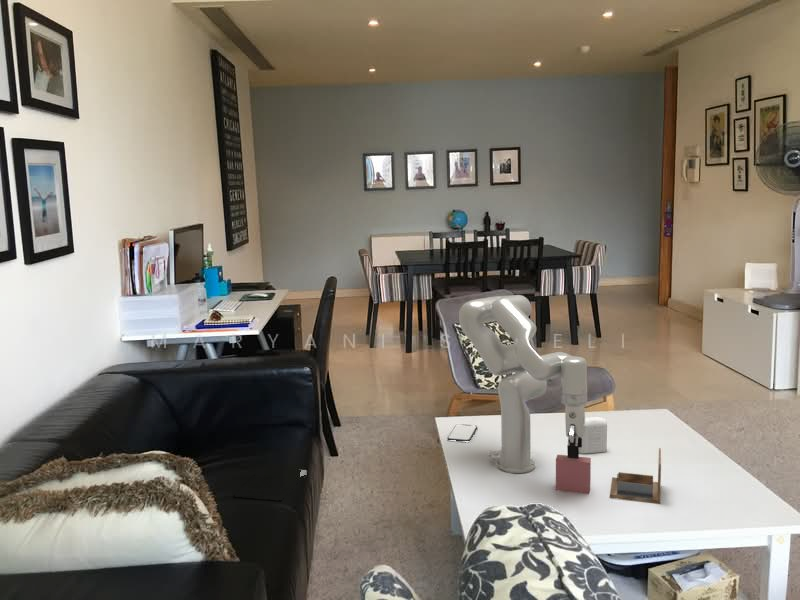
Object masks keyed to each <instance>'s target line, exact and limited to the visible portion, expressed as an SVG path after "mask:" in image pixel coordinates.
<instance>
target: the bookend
mask: <svg viewBox="0 0 800 600" xmlns="http://www.w3.org/2000/svg"><path fill="white" fill-rule="evenodd" d="M617 495H620V496H628V497H637V498H646V499H653V485H648V484H639V483H629V482H620V481H617Z"/></svg>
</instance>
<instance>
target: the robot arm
mask: <svg viewBox="0 0 800 600" xmlns="http://www.w3.org/2000/svg"><path fill="white" fill-rule="evenodd" d="M532 310H533V309H532V305H531V301H529V299H528V298H527V297H525V296H524V295H522V294H515V295H513V294H512V295H495V296H489V297H483V298H477V299H471V300H469V301H467V302H465V303H464V304H463V305H462V306H460V309H459V313H458V314H459V315H458V322H459V325H460V328H461V331H462V332H463V334H464V335H465V336H466V338H467V339H468V340H469V342H471V344H472V345H473V347H474V348H475V350H476V351H477V353H478V355H479V356H480V358H481V360H482V361H483V363H484V365H485V366H486V368H487V369H488V370H489V372H490V374H492V375H493V376H496V377H497V376H498V377H500V376H504V377H503V378H501V379H500V381H499V383H498V384H497V393H498V398H499V404H500V413H501V414H500V417H501V418H500V419H501V422H500V424H501V427H500V428H501V430H500V431H501V450H499V451H496V450H495V451H494V450H489V451H488V457H489V458H490V459H491V460H497V462H496V465H497V468H498V469H500V470H502V471H503V472H506V473H511V474H523V473H529V472H531V471H534V469H535V468H536V462H535V460H534V459H532V458H531V414H530V410H529V408H528V407H527V405H526V402H528V401H530V400H533V399H536V398H537V399H538V398H539V397H542V396H543V395H545V393H546V391H547V388H548V382H547V381H549V380H552V379H555V378H560V384H561V385H560V387H561V397H560V398H561V399H560V400H561V403H562V404H563V405H565V407H564V408H565V409H564V410H565V413H564V415H565V418H564V419H565V436H566V437H567V447H566V448H567V453H566V454H567V456H568V458H573V459H578V458H579V457H580V453H579V447H580V448H581V447H582V437H583V436H584V432H585V418H586V412H585V411H586V410H585V405H587V404H588V367H587V366H588V363H587V360H586V359H585V358H584V357H582V356H575V355H572V354H571V355H570V354H568V353H566V352H564V351H563V352H562V351H556V352H552V353H547V354H543V355H539V354H538V352H537V351H536V350H535V349H534V348H533V347H532V345H531V344H530V341H531V340H532V339H533V338H534V336H535V334H536V333H537V326H536V324H535V323H534V321H532V320H531V319H530V318H529V316H530V315H531V313H532ZM490 322H491V323H492V322H497V324H498V326H500V327H501V328H502V330H503V331H505V333H506V334H507V335H508V336H509V338H511V339H512V340H513V342H514V343H513V344H506V345H505V344H503V342H502V341H501V339H500V338H499V337H498V335H497V334H496V333H495V331H493V330H492V329H491V328H489V327H488V326H487V325H485V324H486V323H490ZM506 375H507V376H506Z"/></svg>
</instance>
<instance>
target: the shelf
mask: <svg viewBox="0 0 800 600" xmlns="http://www.w3.org/2000/svg"><path fill="white" fill-rule="evenodd" d="M661 452H662V450H661V448H660V447H659V448H658V470H657V471H658V472H657V474H658V475H657V481H654V475H651V474H650V475H649V474H639V473H631V472H620V471H618V473H617V474H616V477H614V476H613V477H611V484H610V489H609V490H610V491H609V498H611V499H616V498H618V499H617V500H625V499H626V500H627V501H633V500H634V502H635V501H636V502H642V503H651V504H659V503H660V504H661V481H662V480H661V479H662V477H661V475H662V454H661ZM617 481H620V482H629V483H639V484H648V485H653V499H646V498H637V497H628V496H620V495H617Z"/></svg>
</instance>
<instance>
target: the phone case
mask: <svg viewBox="0 0 800 600" xmlns="http://www.w3.org/2000/svg"><path fill="white" fill-rule="evenodd" d="M476 430H477V431H478V425H474V424H461V423H459V424H458V423H457V424H455V425H454V427H453V429H452V431H451V432H450V434H449V435H448V436H447V439H448V440H456V441H470V440H471V441H472V439H473V438H472V437H474V436H475V434H476V433H475V432H477V431H476ZM473 435H474V436H473ZM471 438H472V439H471ZM448 440H447V441H448ZM471 441H470V442H471Z"/></svg>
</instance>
